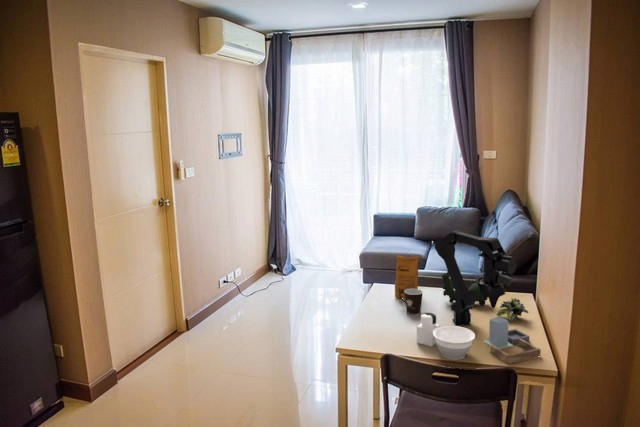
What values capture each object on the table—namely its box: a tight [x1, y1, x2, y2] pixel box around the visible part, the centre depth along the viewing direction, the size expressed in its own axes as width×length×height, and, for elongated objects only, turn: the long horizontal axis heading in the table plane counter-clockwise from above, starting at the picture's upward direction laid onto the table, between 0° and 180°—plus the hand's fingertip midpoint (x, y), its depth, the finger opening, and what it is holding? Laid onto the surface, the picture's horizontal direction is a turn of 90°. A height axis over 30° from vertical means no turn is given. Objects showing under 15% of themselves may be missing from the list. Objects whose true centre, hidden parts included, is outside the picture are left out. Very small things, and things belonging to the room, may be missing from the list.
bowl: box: [433, 325, 476, 361], centre depth 191 cm, size 16×16×8 cm
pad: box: [483, 339, 514, 350], centre depth 199 cm, size 8×8×1 cm
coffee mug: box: [399, 288, 424, 315], centre depth 237 cm, size 12×9×10 cm
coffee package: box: [394, 255, 419, 300], centre depth 255 cm, size 10×12×22 cm
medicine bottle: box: [416, 312, 441, 348], centre depth 202 cm, size 7×7×12 cm
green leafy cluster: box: [495, 297, 529, 322], centre depth 223 cm, size 11×11×12 cm
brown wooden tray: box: [489, 339, 542, 365], centre depth 189 cm, size 10×15×3 cm
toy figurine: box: [441, 270, 486, 306], centre depth 242 cm, size 9×19×25 cm
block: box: [488, 316, 509, 347], centre depth 198 cm, size 5×5×10 cm
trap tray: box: [508, 328, 530, 346], centre depth 203 cm, size 8×8×2 cm
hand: (489, 304), depth 207 cm, fingers open, 9 cm apart
